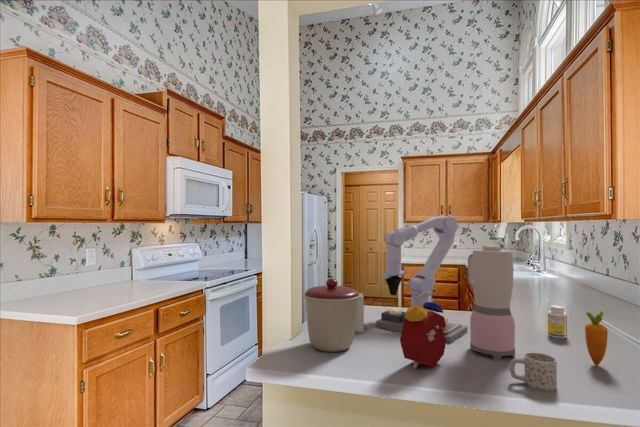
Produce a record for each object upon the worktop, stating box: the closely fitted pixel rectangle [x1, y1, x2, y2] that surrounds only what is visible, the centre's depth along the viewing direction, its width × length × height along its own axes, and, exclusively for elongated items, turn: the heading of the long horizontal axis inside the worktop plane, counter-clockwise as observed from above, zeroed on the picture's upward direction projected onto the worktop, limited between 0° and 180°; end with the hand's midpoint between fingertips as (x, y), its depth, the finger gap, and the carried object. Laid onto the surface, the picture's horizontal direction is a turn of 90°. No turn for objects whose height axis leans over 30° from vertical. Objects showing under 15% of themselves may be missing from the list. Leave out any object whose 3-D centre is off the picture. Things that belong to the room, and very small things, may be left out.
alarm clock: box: [399, 291, 451, 370], centre depth 100 cm, size 15×9×20 cm, turn 133°
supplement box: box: [355, 292, 365, 334], centre depth 132 cm, size 7×7×13 cm
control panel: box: [375, 310, 469, 344], centre depth 133 cm, size 16×28×4 cm, turn 50°
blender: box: [467, 245, 516, 361], centre depth 112 cm, size 16×12×32 cm
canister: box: [302, 278, 361, 353], centre depth 114 cm, size 18×18×21 cm
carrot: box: [584, 310, 608, 367], centre depth 101 cm, size 5×5×15 cm
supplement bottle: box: [547, 305, 568, 339], centre depth 126 cm, size 6×6×10 cm
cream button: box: [387, 308, 403, 315], centre depth 139 cm, size 5×5×2 cm
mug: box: [509, 351, 558, 392], centre depth 89 cm, size 10×7×7 cm
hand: (393, 294), depth 147 cm, fingers closed
